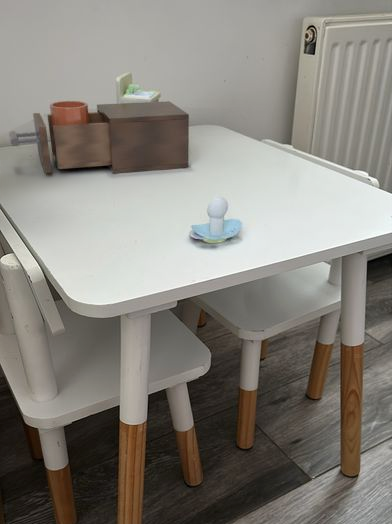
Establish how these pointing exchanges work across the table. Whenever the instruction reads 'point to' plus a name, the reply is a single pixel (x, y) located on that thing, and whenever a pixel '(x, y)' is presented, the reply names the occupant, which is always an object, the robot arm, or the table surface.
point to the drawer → (70, 142)
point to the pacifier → (216, 224)
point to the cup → (69, 113)
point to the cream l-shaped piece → (133, 91)
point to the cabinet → (147, 136)
